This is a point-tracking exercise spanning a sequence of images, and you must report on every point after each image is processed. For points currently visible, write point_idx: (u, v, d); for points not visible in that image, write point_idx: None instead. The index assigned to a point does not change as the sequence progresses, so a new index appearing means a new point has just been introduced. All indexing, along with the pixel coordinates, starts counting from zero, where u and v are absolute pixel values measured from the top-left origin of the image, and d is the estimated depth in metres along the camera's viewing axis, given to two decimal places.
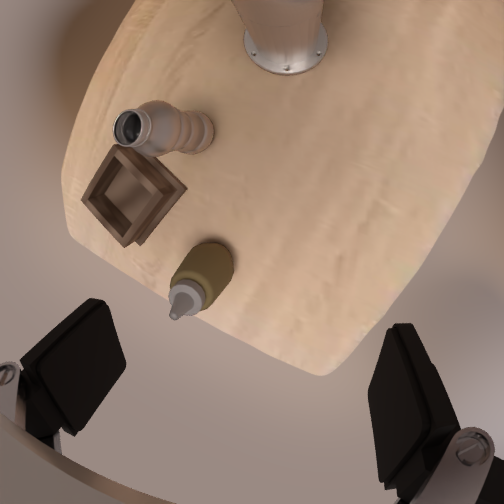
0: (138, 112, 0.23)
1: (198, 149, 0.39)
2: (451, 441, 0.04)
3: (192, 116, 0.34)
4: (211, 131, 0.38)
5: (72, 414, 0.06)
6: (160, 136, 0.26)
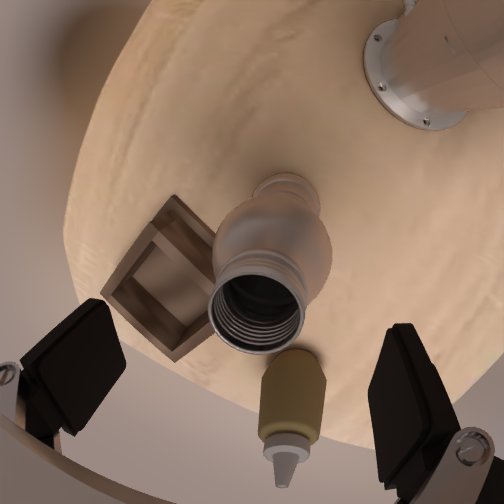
0: (290, 283, 0.10)
1: None
2: (451, 441, 0.04)
3: (308, 200, 0.21)
4: None
5: (72, 414, 0.06)
6: None
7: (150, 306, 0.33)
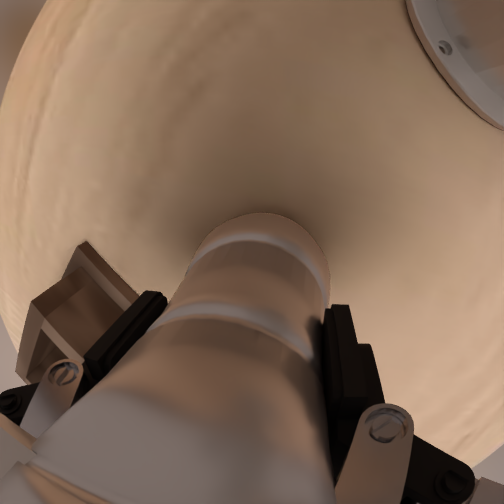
0: None
1: None
2: (363, 414, 0.05)
3: (305, 311, 0.08)
4: None
5: None
6: None
7: None
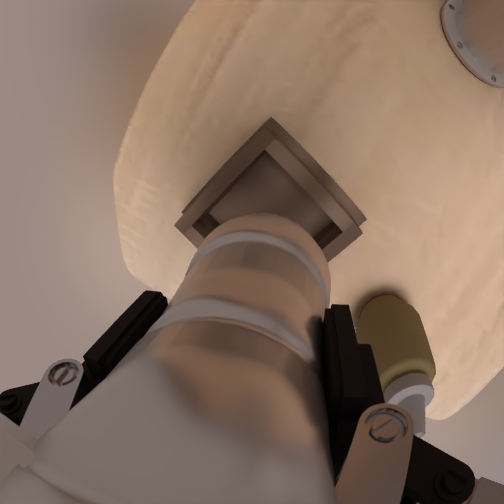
0: None
1: None
2: (363, 414, 0.05)
3: (306, 312, 0.08)
4: None
5: None
6: None
7: None
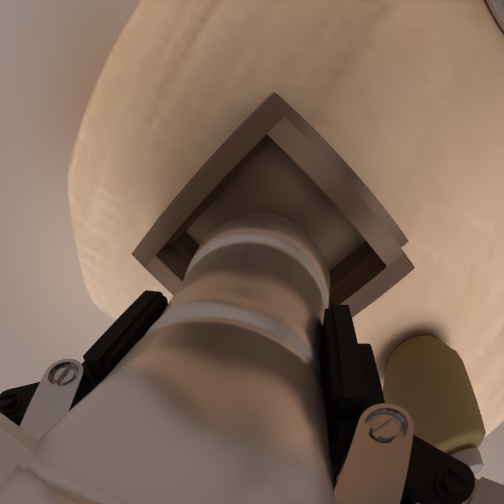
0: None
1: None
2: (363, 414, 0.05)
3: (305, 313, 0.08)
4: (328, 296, 0.12)
5: None
6: None
7: None
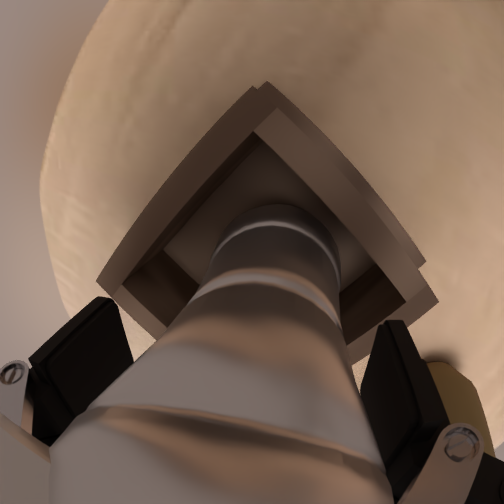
0: None
1: None
2: (439, 436, 0.04)
3: (326, 283, 0.09)
4: None
5: (81, 413, 0.06)
6: None
7: None
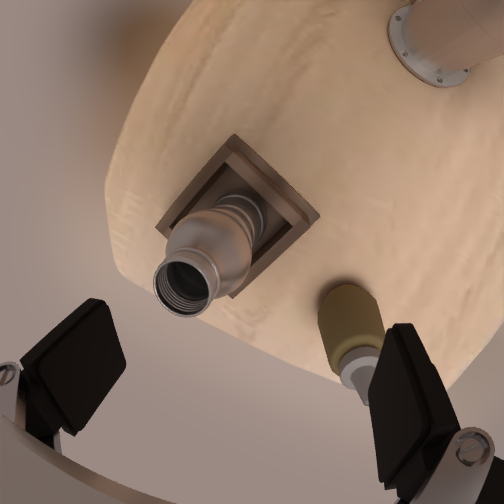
0: (199, 266, 0.15)
1: None
2: (451, 441, 0.04)
3: (248, 211, 0.26)
4: (266, 221, 0.31)
5: (72, 414, 0.06)
6: (228, 283, 0.19)
7: None
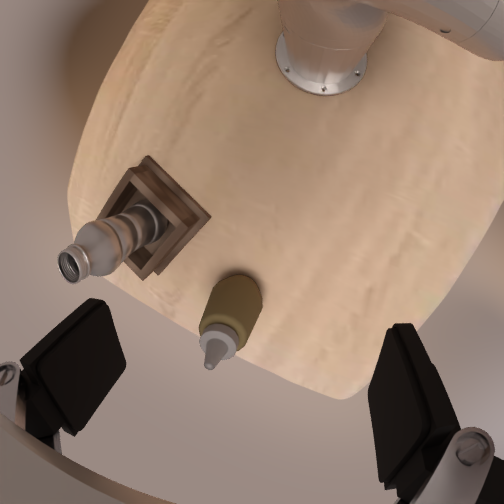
0: (74, 255, 0.24)
1: (152, 242, 0.40)
2: (451, 441, 0.04)
3: (139, 217, 0.35)
4: (163, 223, 0.40)
5: (72, 414, 0.06)
6: (101, 266, 0.28)
7: None
